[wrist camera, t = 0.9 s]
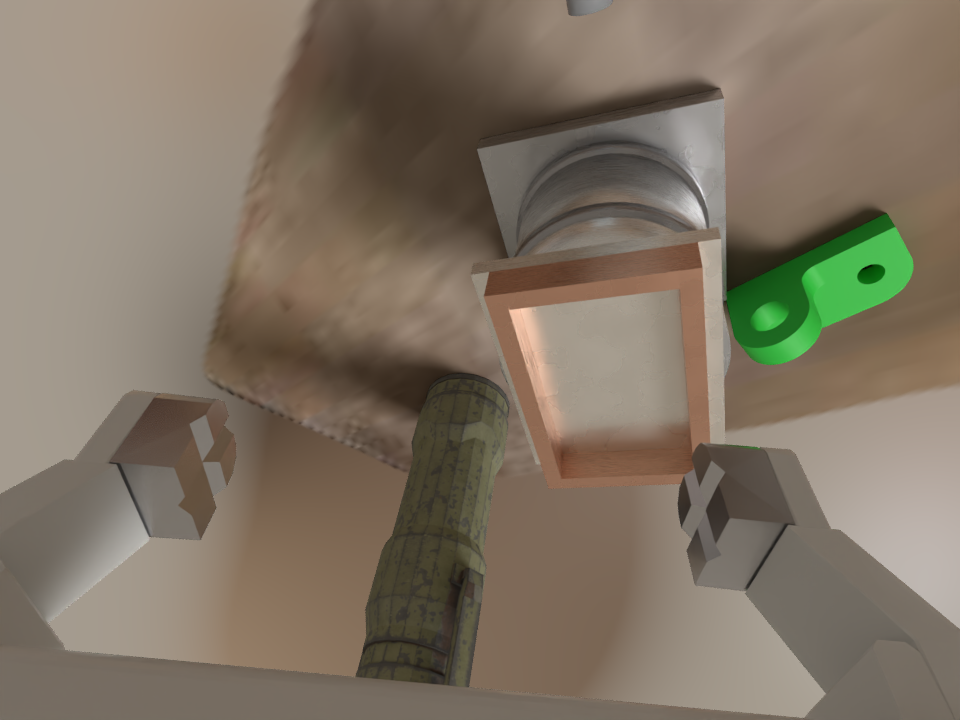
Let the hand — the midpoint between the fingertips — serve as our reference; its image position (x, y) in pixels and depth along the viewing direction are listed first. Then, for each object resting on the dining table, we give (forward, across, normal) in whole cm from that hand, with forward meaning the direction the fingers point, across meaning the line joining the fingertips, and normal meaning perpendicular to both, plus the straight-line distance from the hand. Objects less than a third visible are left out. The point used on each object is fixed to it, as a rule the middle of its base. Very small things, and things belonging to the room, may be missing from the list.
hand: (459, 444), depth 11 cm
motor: (+36, -9, +12) cm, 39 cm away
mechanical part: (+36, -26, +16) cm, 47 cm away
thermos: (+40, +1, +36) cm, 53 cm away
